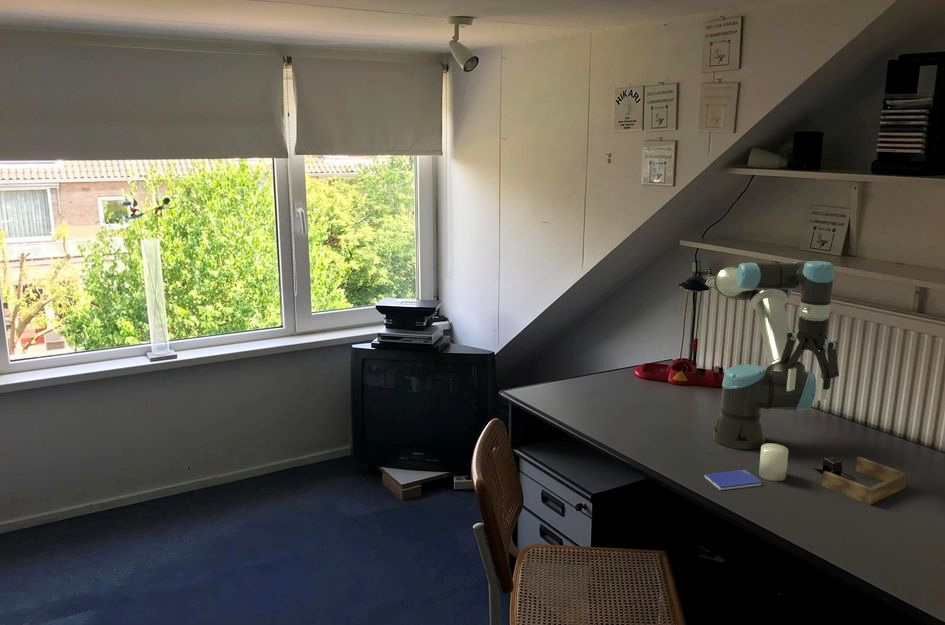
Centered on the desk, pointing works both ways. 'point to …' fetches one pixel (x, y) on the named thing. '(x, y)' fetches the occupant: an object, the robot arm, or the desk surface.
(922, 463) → the desk surface
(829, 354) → the robot arm
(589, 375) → the desk surface
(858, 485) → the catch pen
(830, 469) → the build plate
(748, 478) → the hard drive
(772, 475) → the cream cylinder
